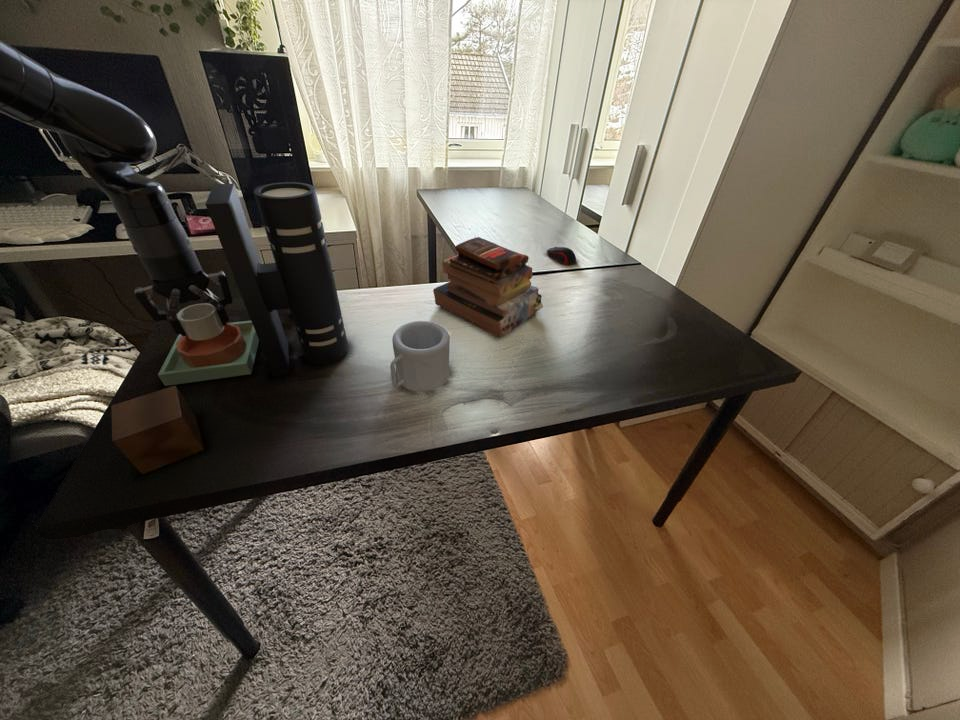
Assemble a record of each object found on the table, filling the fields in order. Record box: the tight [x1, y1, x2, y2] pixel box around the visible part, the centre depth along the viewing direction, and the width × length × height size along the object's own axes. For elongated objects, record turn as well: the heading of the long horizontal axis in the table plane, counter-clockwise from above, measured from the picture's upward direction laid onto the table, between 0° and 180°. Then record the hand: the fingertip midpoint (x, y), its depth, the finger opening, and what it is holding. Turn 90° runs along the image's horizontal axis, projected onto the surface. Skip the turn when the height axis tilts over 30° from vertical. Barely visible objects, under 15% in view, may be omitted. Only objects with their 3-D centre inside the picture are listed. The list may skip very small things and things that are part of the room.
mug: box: [390, 320, 451, 392], centre depth 73 cm, size 14×11×10 cm
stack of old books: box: [432, 236, 544, 339], centre depth 92 cm, size 23×18×17 cm
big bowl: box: [176, 322, 246, 368], centre depth 76 cm, size 11×11×4 cm
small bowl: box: [176, 302, 224, 340], centre depth 72 cm, size 6×6×4 cm
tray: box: [157, 320, 260, 387], centre depth 77 cm, size 16×15×3 cm
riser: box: [111, 385, 205, 475], centre depth 58 cm, size 8×8×8 cm
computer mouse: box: [546, 246, 577, 266], centre depth 125 cm, size 6×11×4 cm, turn 32°
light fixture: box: [204, 181, 350, 378], centre depth 69 cm, size 10×15×33 cm
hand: (204, 328), depth 73 cm, fingers closed on small bowl, 6 cm apart
